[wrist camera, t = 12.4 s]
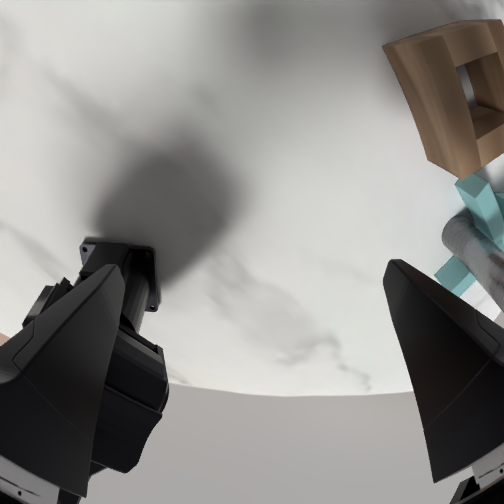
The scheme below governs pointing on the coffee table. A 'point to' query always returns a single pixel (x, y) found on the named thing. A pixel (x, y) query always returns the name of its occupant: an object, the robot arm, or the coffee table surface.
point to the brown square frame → (455, 91)
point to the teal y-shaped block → (487, 221)
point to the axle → (477, 255)
